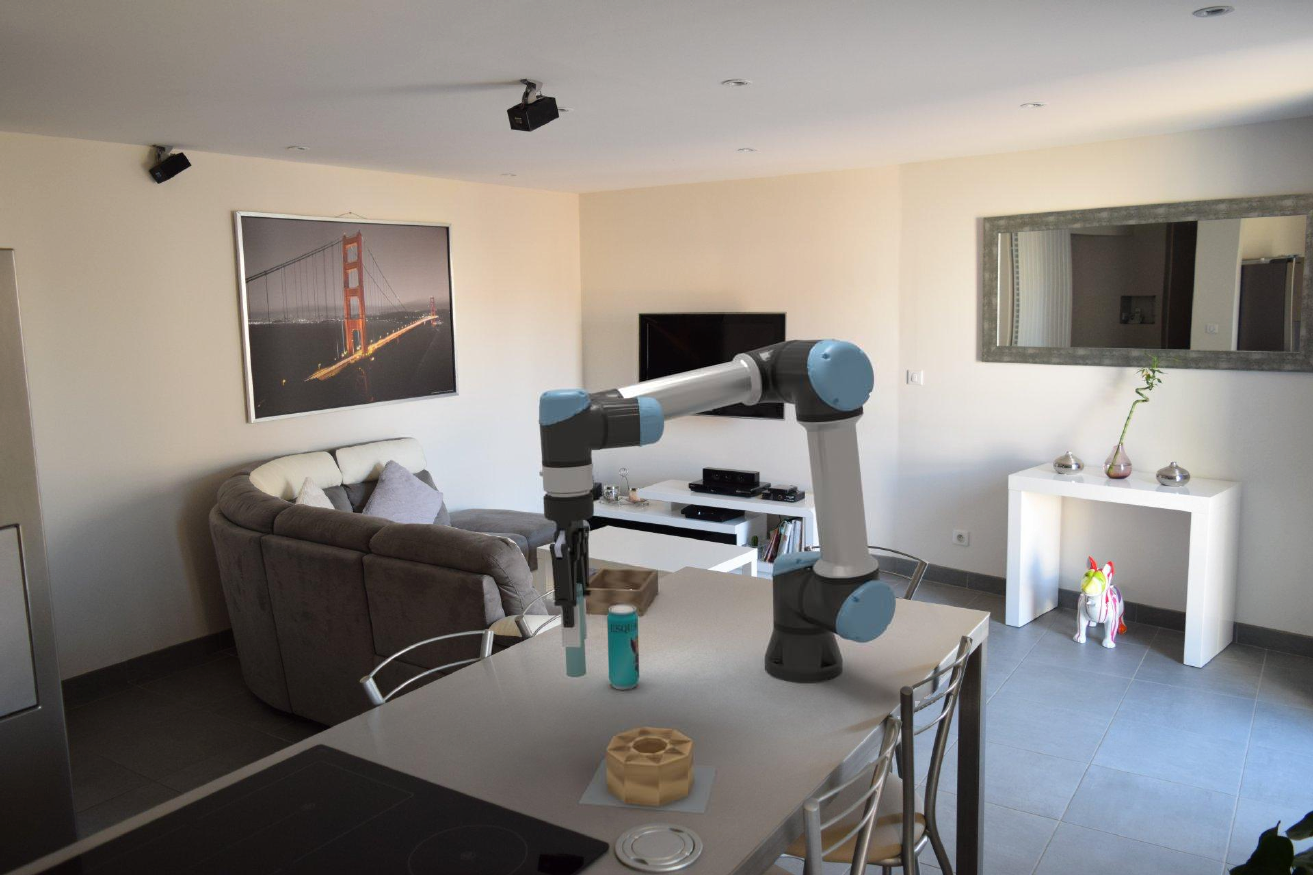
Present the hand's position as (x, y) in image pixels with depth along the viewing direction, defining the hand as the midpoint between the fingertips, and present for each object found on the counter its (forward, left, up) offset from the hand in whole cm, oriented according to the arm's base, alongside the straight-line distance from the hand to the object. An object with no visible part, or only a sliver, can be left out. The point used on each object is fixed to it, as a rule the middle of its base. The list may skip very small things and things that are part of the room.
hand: (575, 641), depth 144 cm
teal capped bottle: (0, 0, -5) cm, 5 cm away
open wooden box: (+13, -83, -19) cm, 86 cm away
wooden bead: (-13, +6, -19) cm, 24 cm away
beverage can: (0, -31, -20) cm, 37 cm away
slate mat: (-13, +6, -19) cm, 24 cm away
